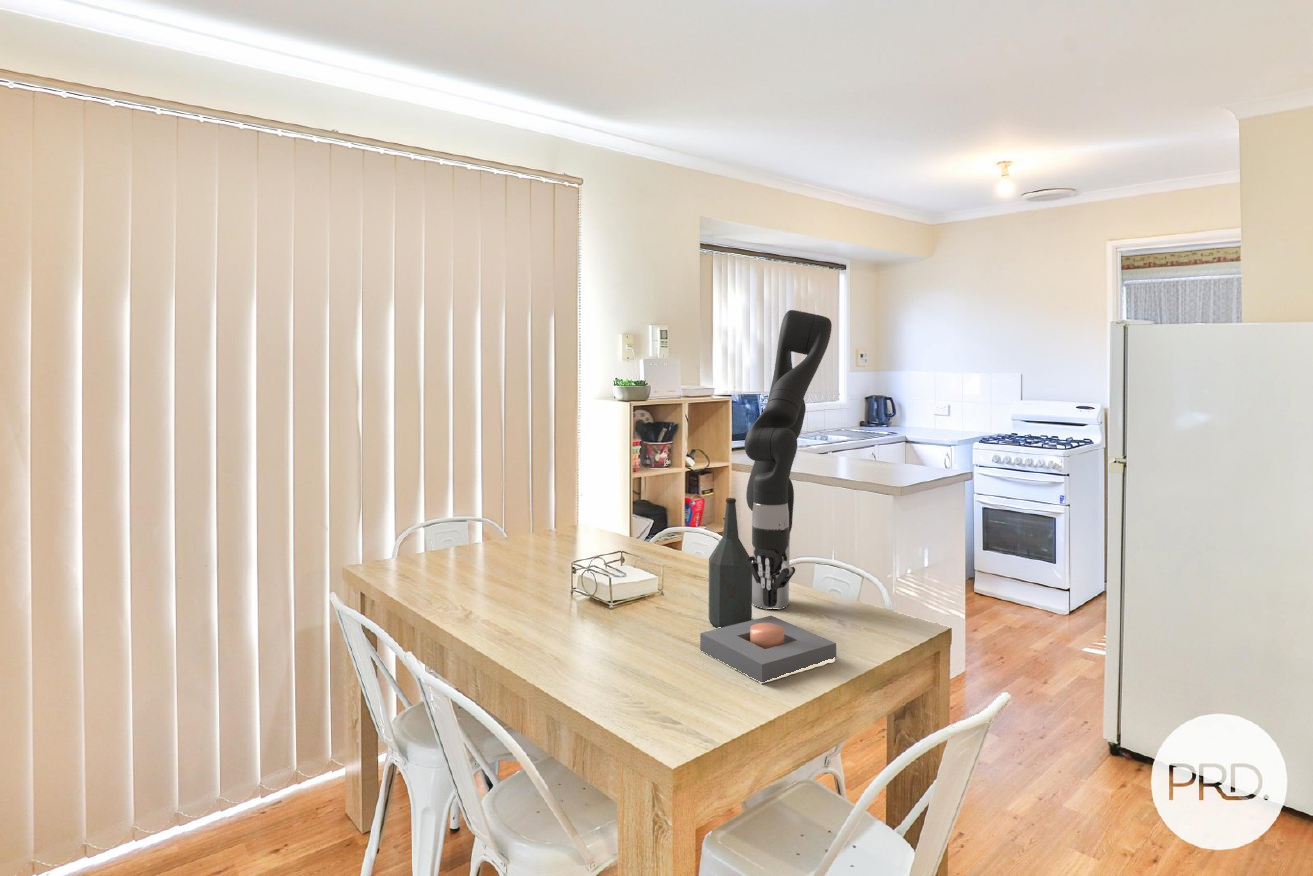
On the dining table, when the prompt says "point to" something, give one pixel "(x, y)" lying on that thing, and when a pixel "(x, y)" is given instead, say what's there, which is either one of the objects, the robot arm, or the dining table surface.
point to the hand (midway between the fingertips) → (769, 605)
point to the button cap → (766, 635)
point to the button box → (769, 662)
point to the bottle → (729, 576)
